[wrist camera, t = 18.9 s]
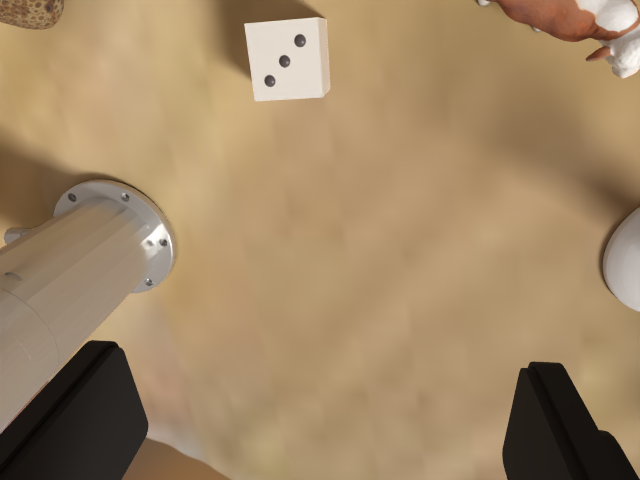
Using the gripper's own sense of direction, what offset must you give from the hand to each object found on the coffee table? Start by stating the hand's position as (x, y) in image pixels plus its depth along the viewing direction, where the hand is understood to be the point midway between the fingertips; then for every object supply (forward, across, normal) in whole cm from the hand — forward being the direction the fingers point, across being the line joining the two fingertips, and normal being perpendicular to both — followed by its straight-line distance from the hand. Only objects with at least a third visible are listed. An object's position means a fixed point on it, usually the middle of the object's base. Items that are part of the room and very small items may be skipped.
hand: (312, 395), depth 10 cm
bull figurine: (+29, -12, -9) cm, 32 cm away
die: (+28, +5, -6) cm, 29 cm away
